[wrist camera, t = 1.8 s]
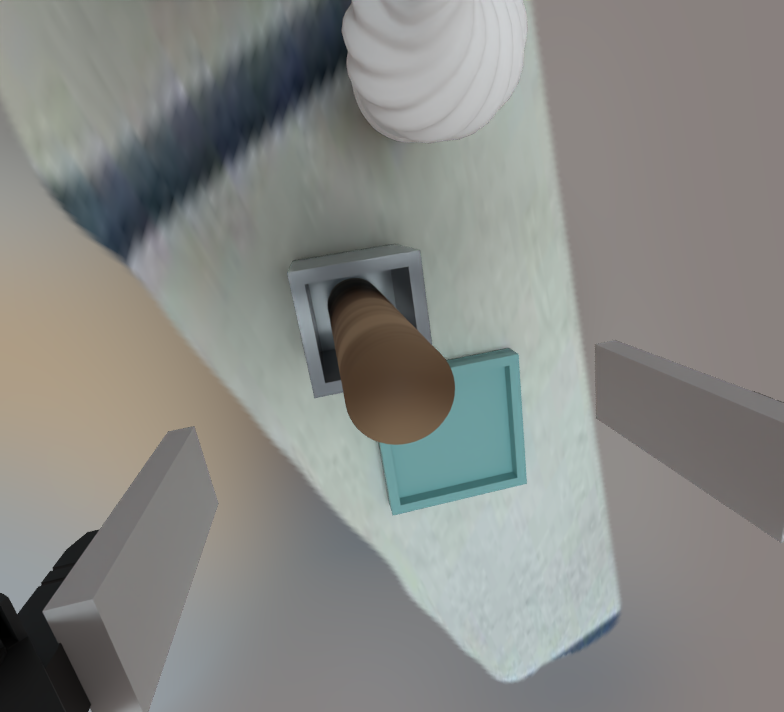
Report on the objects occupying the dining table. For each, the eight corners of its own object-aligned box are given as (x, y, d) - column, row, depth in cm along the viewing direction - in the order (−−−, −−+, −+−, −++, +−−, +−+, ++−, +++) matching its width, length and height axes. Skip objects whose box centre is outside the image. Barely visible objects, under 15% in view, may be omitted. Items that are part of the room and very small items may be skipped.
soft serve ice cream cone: (475, 91, 31) (629, -31, 16) (406, 194, 32) (489, 170, 17) (378, 0, 29) (451, -245, 14) (306, 115, 30) (302, 7, 15)
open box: (292, 260, 32) (286, 272, 25) (395, 243, 33) (420, 250, 26) (313, 359, 35) (314, 398, 27) (409, 341, 36) (435, 373, 28)
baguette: (322, 283, 32) (335, 351, 15) (377, 273, 33) (448, 329, 16) (333, 336, 33) (355, 454, 16) (385, 326, 34) (460, 431, 17)
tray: (366, 376, 36) (369, 384, 34) (508, 348, 37) (518, 354, 36) (389, 502, 39) (392, 515, 38) (517, 472, 41) (526, 483, 39)
